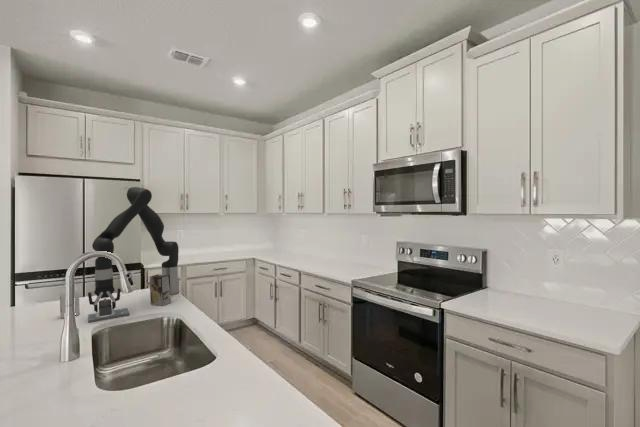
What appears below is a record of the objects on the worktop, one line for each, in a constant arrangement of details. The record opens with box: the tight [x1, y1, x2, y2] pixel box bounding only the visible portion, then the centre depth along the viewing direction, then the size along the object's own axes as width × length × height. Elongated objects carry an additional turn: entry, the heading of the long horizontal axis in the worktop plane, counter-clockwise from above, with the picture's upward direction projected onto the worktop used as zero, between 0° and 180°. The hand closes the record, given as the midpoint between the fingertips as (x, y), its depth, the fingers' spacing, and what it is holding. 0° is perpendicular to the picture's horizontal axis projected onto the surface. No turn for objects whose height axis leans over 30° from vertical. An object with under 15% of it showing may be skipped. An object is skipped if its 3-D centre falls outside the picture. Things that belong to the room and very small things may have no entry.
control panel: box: [87, 307, 130, 324], centre depth 162 cm, size 17×11×4 cm, turn 126°
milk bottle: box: [59, 277, 81, 319], centre depth 163 cm, size 8×8×20 cm
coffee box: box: [149, 274, 172, 307], centre depth 182 cm, size 9×6×16 cm
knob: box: [98, 298, 113, 317], centre depth 161 cm, size 5×5×7 cm
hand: (105, 310), depth 161 cm, fingers open, 6 cm apart
